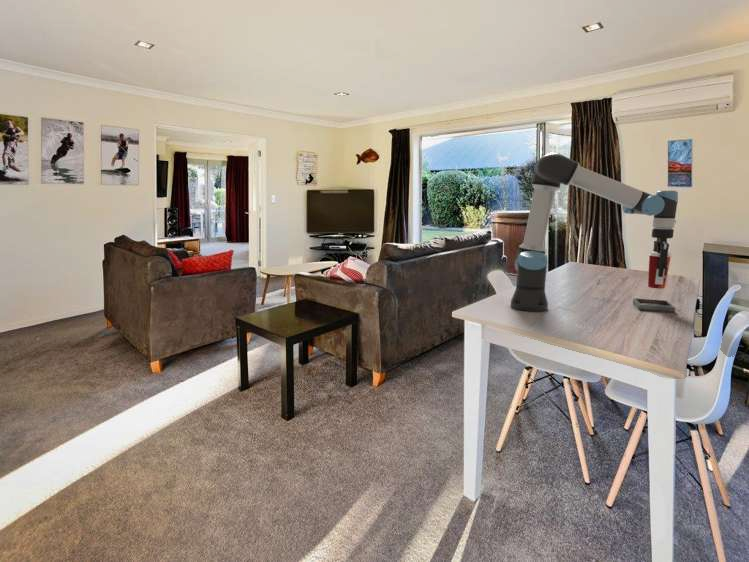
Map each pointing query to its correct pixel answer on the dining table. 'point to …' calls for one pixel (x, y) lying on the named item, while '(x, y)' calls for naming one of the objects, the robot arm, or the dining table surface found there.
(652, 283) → the coffee cup
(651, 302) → the grey square tray
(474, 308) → the dining table surface
